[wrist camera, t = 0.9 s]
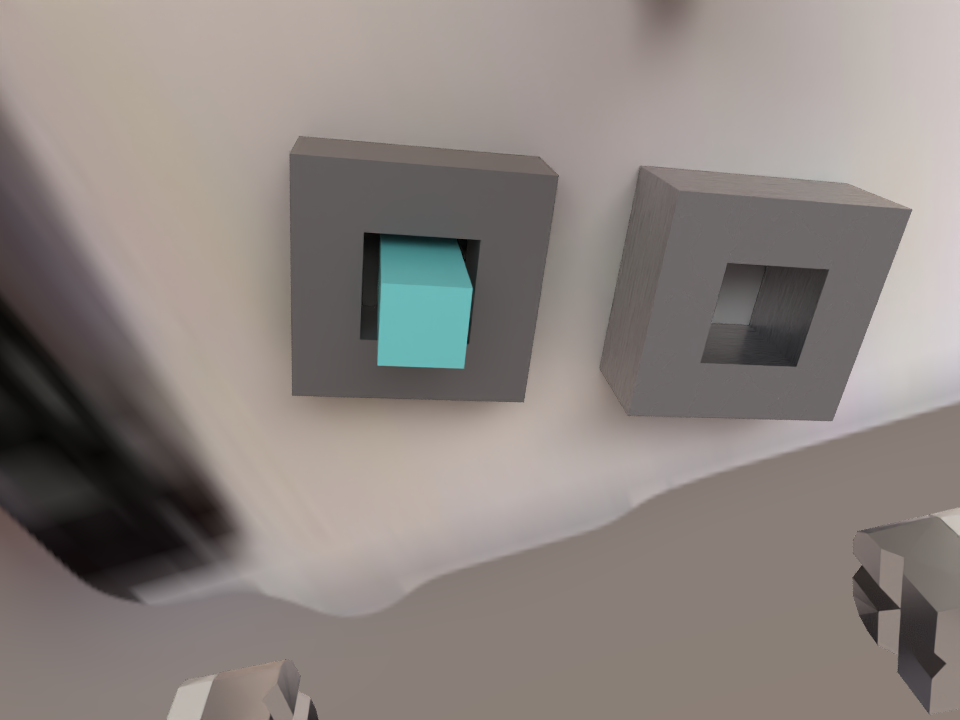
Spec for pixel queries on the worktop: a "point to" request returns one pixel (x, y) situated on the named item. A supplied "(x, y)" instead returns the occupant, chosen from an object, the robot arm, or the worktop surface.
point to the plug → (422, 302)
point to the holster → (419, 212)
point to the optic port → (780, 303)
